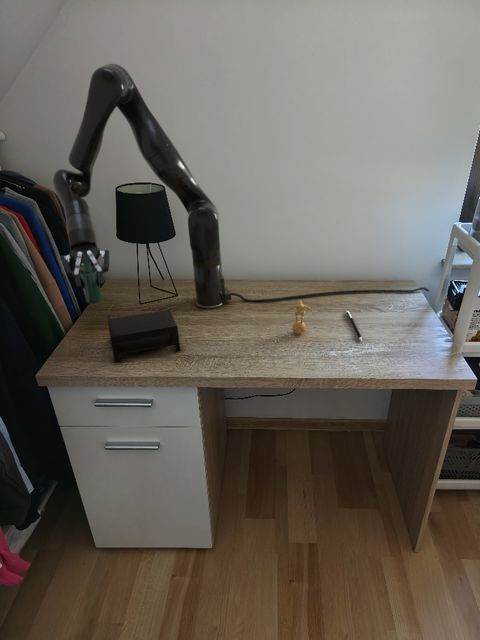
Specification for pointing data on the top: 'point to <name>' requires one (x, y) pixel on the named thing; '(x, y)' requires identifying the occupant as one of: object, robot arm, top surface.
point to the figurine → (298, 325)
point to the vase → (90, 283)
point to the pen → (354, 326)
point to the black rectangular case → (143, 332)
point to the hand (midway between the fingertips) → (91, 286)
